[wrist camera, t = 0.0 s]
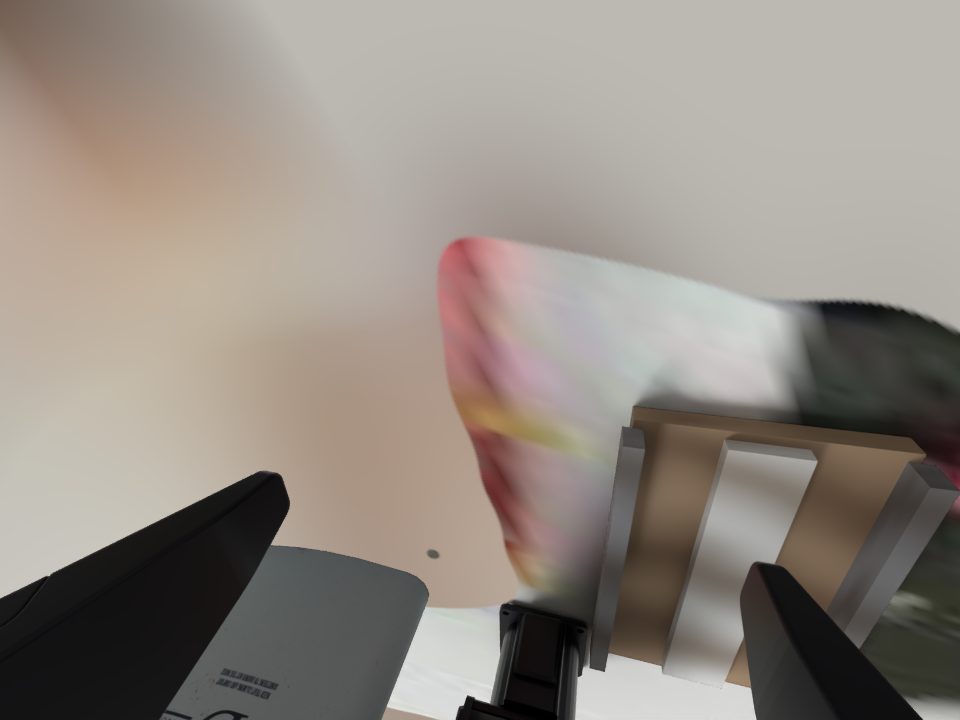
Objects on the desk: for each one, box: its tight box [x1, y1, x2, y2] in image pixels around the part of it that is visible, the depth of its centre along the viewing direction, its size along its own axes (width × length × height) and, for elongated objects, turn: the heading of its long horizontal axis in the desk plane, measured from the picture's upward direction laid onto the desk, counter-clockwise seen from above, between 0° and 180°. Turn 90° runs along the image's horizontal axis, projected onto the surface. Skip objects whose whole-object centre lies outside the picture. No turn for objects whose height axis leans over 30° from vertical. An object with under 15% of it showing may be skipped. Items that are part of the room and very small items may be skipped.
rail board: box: [589, 407, 960, 689], centre depth 25 cm, size 20×13×3 cm, turn 1°
